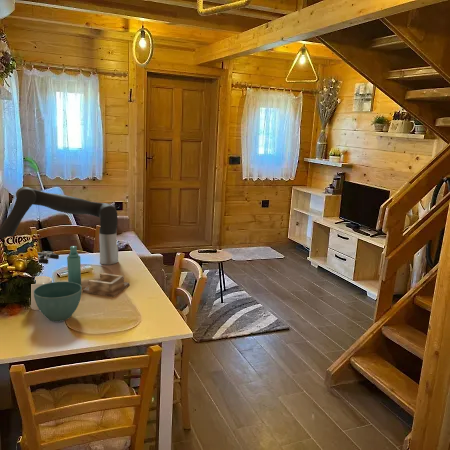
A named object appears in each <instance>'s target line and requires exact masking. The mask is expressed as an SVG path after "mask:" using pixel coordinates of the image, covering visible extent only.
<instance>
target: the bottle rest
mask: <svg viewBox="0 0 450 450" xmlns="http://www.w3.org/2000/svg"><path fill="white" fill-rule="evenodd" d="M124 276H125V275H120V274H119V275H118V274H113V273H105V272H100V273H99V278H98V279H97V280H96V279H95V280H94V279H89V280H88V286H87V287H85V288H83V289H82V293H86V294H93V295H100V296H106V295H107V297H112V298H113V297H116V296H117V295H119V294H120V293H121V292H122V291H123V290H125V289H126V288H128V287H129V286H130V282H126V281H125V279H124V278H125V277H124Z"/></svg>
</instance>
